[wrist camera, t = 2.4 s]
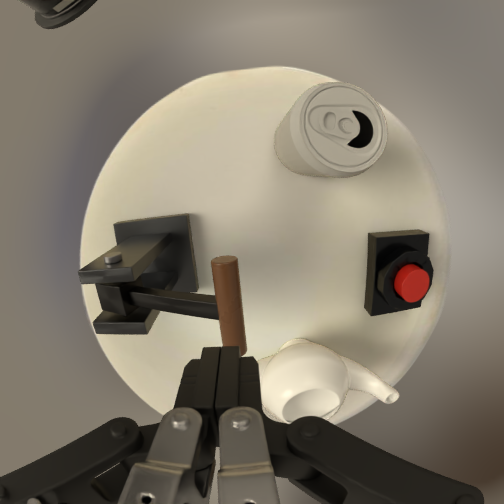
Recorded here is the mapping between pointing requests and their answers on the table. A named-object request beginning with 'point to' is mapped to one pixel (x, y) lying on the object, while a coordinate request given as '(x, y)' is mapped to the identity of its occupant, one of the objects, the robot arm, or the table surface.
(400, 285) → the button
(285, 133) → the beverage can
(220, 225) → the table surface
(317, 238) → the table surface
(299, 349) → the teapot
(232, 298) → the lever
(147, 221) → the bracket
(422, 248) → the control block
